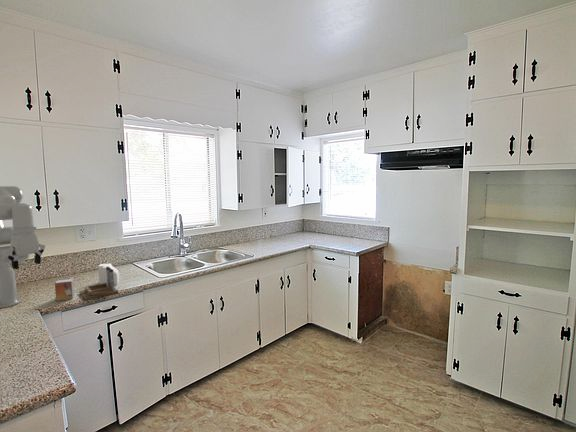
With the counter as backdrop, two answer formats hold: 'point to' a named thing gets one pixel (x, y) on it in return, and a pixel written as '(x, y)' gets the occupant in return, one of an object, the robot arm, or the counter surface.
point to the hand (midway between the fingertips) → (27, 266)
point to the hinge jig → (100, 288)
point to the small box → (64, 289)
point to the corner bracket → (104, 274)
